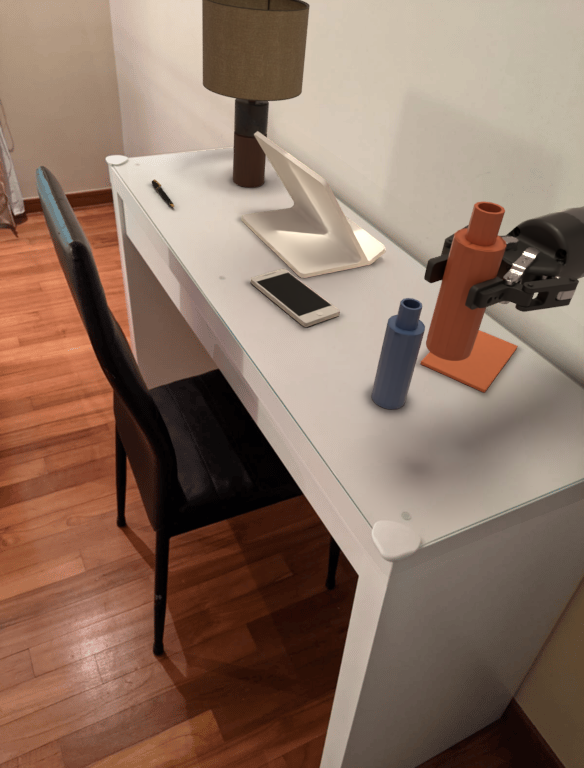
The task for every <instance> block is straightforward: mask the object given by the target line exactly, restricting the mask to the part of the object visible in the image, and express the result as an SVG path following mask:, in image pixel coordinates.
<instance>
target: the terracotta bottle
mask: <svg viewBox="0 0 584 768" xmlns="http://www.w3.org/2000/svg"><path fill="white" fill-rule="evenodd" d="M505 213H506V209H505V208H504V206H502V205H500V204H499V203H495V202H491V201H477V202H475V203H474V204H473V207H472V212H471V215H470V218H469V222H468V224H467V225H468V228H465V229H462V228H460V229H458V230H457V231H456V232H454V233H455V234H454V233H453V234H454V237H453V241H452V245H451V249H450V253H449V256H448V260H447V264H446V268H445V271H444V275H443V279H442V280H441V282H440V286H439V290H438V293H437V294H438V295H437V298H436V301H435V306H434V309H433V313H432V317H431V320H430V324H429V329H428V332H427V336H426V341H425V347H426V349H427V350H428V352H431V353H432V354H434V355H435V356H437V357H439V358H442V359H445V360H450V361H460V360H464V359H466V358H468V357H469V356H470V354H471V351H472V349H473V346H474V343H475V340H476V337H477V334H478V331H479V330H480V328H481V325H482V322H483V319H484V316H485V312H486V309H487V307H486V308H476V309H474V310H471V309H470V308H468V307H467V306H465V302H466V299H467V296H468V293H469V290H470V288H471V287H472V286H473V285H475V284H478V283H481V282H484V281H487V280H490V279H493V278H496V276H497V273H498V270H499V267H500V264H501V261H502V258H503V255H504V252H505V249H506V241H505V240H504V239H503V238H502V237H500V236H501V235H499V232H500V229H501V226H502V222H503V219H504V217H505Z"/></svg>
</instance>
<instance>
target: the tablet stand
mask: <svg viewBox="0 0 584 768" xmlns="http://www.w3.org/2000/svg"><path fill="white" fill-rule="evenodd" d="M254 136H255V138H256V139H257V141H258V143H259V144H260V146H261V148H262V149H263V151H264V153H265V154H266V159H268V162H269V163H270V165H271V166H272V168H273V169H274V172H275V173H276V174H277V177H278V178H279V180H280V181H281V183H282V184H283V186H284V188H285V190H286V192H287V193H288V195H289V197H290V198H291V200H292V201H293V205H292V207H287V208H280V209H279V208H278V209H273V210H266V211H259V212H252V213H244V214H241V218H240V219H241V222H242V223H243V224H245V226H246V227H248V229H250V231H252V232H253V233H254V234H255V235H256V236H257V237H258V238H259V239H260V240H261V241H262V242H263V243H264V244H265V245H266V246H267V247H268V248H269V249H271V251H272V252H273V253H274V254H275V255H277V257H278V258H280V259H281V261H283V263H285V264H286V265H287V266H288V267H289V268H290V269H291V270H292V271H293V272H294V273H295V274H296V275H297V276H298V277H300V278H301V279H307V278H312V277H316V276H321V275H322V276H323V275H327V274H331V273H332V274H333V273H336V272H342V271H346V270H351V269H356V268H360V267H366V266H370V265H372V264H373V263H375V262H376V261H377V260H378V259H379V258H380V257H382V256H383V255H384V254H385V253H386V252H387V249H386V247H385V244H383V243H382V242H380V241H379V240H378V239H377V238H375V237H374V236H373V235H371V234H370V233H369V232H367V230H365V229H364V228H362V227H360V226H359V225H358V224H357V223H356V222H355V221H353V220H352V219H350V218H349V217H347V216H346V215H345V213H344V211H343V209H342V207H341V206H340V204H339V201H338V200H337V198H336V196H335V194H334V192H333V190H332V188H331V187H330V184H329V182H328V181H327V179H325V178H324V177H323V176H321V175H320V174H318V173H317V172H316V171H314V170H313V169H311V168H310V167H308V166H307V165H306V164H304V163H303V162H301V160H299V159H297V158H296V157H295V156H294V155H292V154H291V153H289V152H288V151H286V150H285V149H283V148H282V147H281V146H279V145H278V144H276V142H274V141H272V139H269V138H268V136H267V137H265V136H264V135H262V134H261V133H260V132H258V131H257V132H256V133H255V134H254Z"/></svg>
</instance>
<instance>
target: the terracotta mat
mask: <svg viewBox="0 0 584 768" xmlns="http://www.w3.org/2000/svg"><path fill="white" fill-rule="evenodd" d="M518 346H519V345H517V344H514V343H511V342H510V341H507V340H505V339H502V338H499V337H497V336H494V335H492V334H490V333H487V332H485V331H482V330H480V329H479V331H478V334H477V337H476V340H475V343H474V346H473V349H472V351H471V354H470V356H469V357H468V358H466V359H464V360H460V361H450V360H445V359H442V358H439V357H437V356H435V355H434V354H432V353H431V352H430V351H428V353H427V354H426V355H425V356H424V357H423V358H422V360H420V365H422V366H423V367H426V368H428V369H430V370H433V371H435V372H437V373H440V374H442V375H444V376H446V377H448V378H450V379H453V380H455V381H456V382H460V383H462V384H464V385H466V386H468V387H471V388H472V389H475V390H477V391H479V392H481V393H486V392H487V390H488V389H489V387H490V386H491V385H492V383H493V382H494V380H495V379H496V378H497V376H498V375H499V373H500V372H501V371H502V370H503V368H504V367H505V365H506V364H507V363H508V362H509V360H510V359H511V357H512V356H513V354H514V353H515V351H517V349H518Z"/></svg>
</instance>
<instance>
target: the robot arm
mask: <svg viewBox="0 0 584 768" xmlns="http://www.w3.org/2000/svg"><path fill="white" fill-rule="evenodd" d="M468 225H469V224H467V225H465V226H464V227H462V228H461V229H465V228H468ZM455 233H456V232H454V233H453V234H451V235H449V236H447V237H446V238H445V239H444V242H443V245H442V248H441V252H440V255H438V256H435V257H432V258H429V259H428V260H427V264H426V268H425V272H424V277H423V279H424V281H426V282H427V283H429V284H434V283H437V282H440V281H442V279H443V275H444V271H445V268H446V264H447V260H448V256H449V253H450V249H451V245H452V241H453V237H454V234H455ZM499 236H500V237H502V238H503V239H504V240H505V241H506V249H505V252H504V255H503V258H502V261H501V264H500V267H499V270H498V273H497V276H496V278H493V279H490V280H487V281H484V282H481V283H478V284H475V285H473V286H472V287H471V288H470V290H469V293H468V296H467V299H466V302H465V306H467V307H468V308H470V309H471V310H474V309H476V308H486V309H487V308H489V307H491V306H494V305H496V304H498V303H499V304H501V305H508V304H509V303H512V304H515V305H514V308H515V310H516V311H519V312H523V313H526V312H527V313H528V312H533V311H539V310H547V309H555V308H560V307H568V306H570V304H571V301H572V299H573V298H574V295H575V292H576V291H577V287H578V285H579V283H580V279H582V278H584V205H583V206H580V207H578V206H577V207H570V208H569V207H568V208H563V209H561V210H557V211H553V212H549V213H547V214H542V215H540V216H536V217H533V218H529V219H526V220H524V221H522V222H520V223H518V224H517V225H515V227H513V228H512V230H510V231H509V232H508V233H507V234H505V235H499ZM535 294H537V295H536V297H534V295H535Z"/></svg>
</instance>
